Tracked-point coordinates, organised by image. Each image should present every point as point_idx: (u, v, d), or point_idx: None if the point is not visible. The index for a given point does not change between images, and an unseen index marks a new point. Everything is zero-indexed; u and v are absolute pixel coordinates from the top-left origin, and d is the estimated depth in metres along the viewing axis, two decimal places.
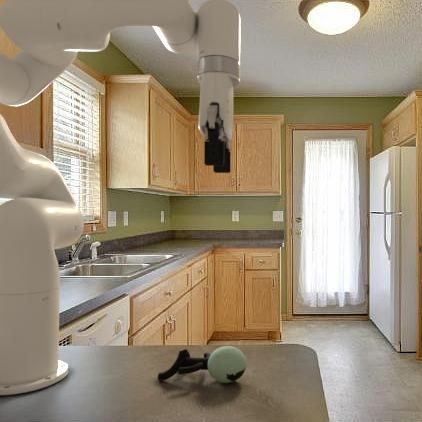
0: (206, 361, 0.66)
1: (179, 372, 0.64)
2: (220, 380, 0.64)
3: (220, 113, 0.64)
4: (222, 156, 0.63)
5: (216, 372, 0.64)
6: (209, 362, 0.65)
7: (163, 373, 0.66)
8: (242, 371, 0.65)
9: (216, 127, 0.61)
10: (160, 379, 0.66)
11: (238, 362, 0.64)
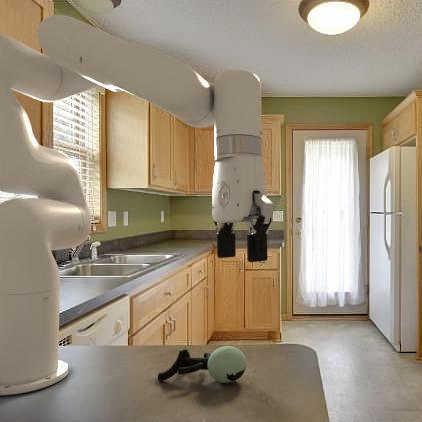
0: (206, 361, 0.66)
1: (179, 372, 0.64)
2: (220, 380, 0.64)
3: None
4: (266, 250, 0.57)
5: (216, 372, 0.64)
6: (209, 362, 0.65)
7: (163, 373, 0.66)
8: (242, 371, 0.65)
9: (270, 222, 0.55)
10: (160, 379, 0.66)
11: (238, 362, 0.64)
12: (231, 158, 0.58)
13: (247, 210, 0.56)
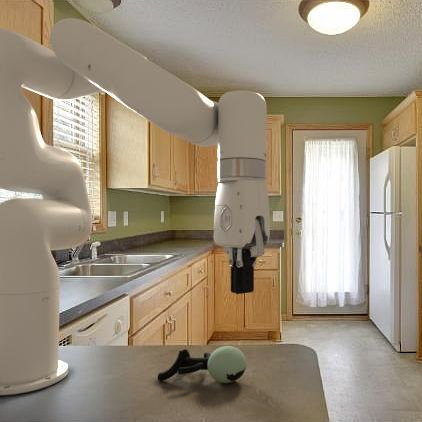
0: (206, 361, 0.66)
1: (179, 372, 0.64)
2: (220, 380, 0.64)
3: (265, 228, 0.56)
4: (252, 282, 0.59)
5: (216, 372, 0.64)
6: (209, 362, 0.65)
7: (163, 373, 0.66)
8: (242, 371, 0.65)
9: (256, 256, 0.57)
10: (160, 379, 0.66)
11: (238, 362, 0.64)
12: (234, 182, 0.56)
13: (250, 236, 0.54)
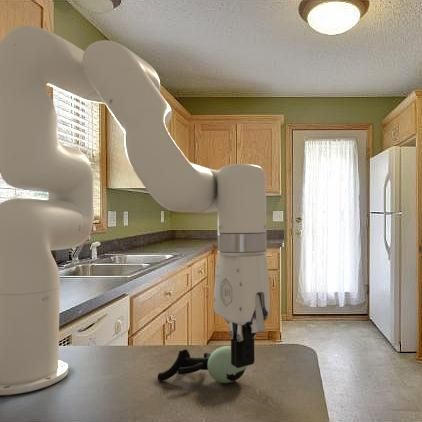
0: (206, 361, 0.66)
1: (179, 372, 0.64)
2: (220, 380, 0.64)
3: (265, 304, 0.55)
4: (253, 354, 0.59)
5: (216, 372, 0.64)
6: (209, 362, 0.65)
7: (163, 373, 0.66)
8: (242, 371, 0.65)
9: None
10: (160, 379, 0.66)
11: None
12: (234, 257, 0.56)
13: (250, 315, 0.54)
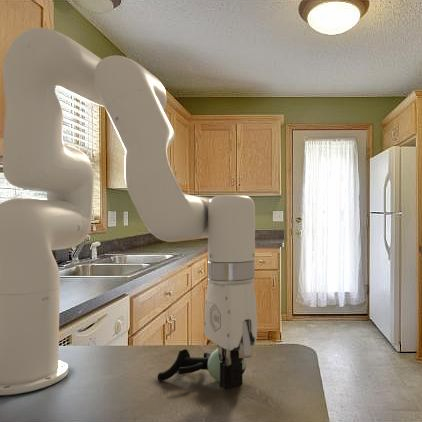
0: (206, 361, 0.66)
1: (179, 372, 0.64)
2: None
3: (252, 330, 0.58)
4: (241, 377, 0.61)
5: (216, 372, 0.64)
6: (209, 362, 0.65)
7: (163, 373, 0.66)
8: (242, 371, 0.65)
9: None
10: (160, 379, 0.66)
11: None
12: (223, 285, 0.58)
13: (237, 341, 0.56)
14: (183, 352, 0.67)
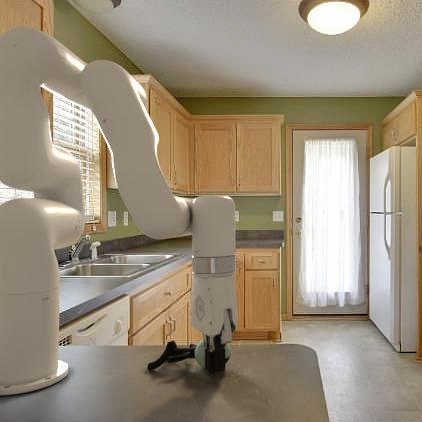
0: (193, 350, 0.72)
1: (169, 361, 0.69)
2: None
3: (233, 319, 0.64)
4: (224, 362, 0.67)
5: (203, 359, 0.69)
6: (196, 351, 0.70)
7: (152, 363, 0.71)
8: (227, 358, 0.71)
9: None
10: (150, 368, 0.71)
11: None
12: (206, 277, 0.64)
13: (219, 328, 0.62)
14: (171, 343, 0.72)
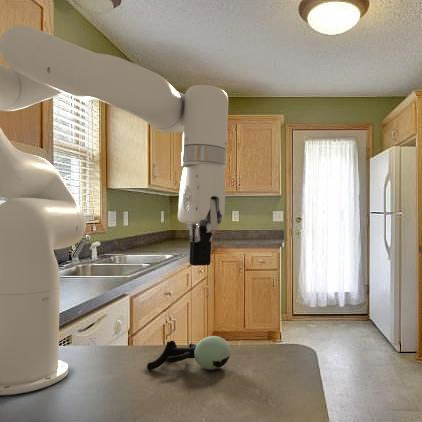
0: (193, 350, 0.72)
1: (168, 361, 0.69)
2: (206, 367, 0.70)
3: (220, 208, 0.63)
4: (209, 256, 0.66)
5: (203, 359, 0.69)
6: (196, 351, 0.70)
7: (152, 362, 0.71)
8: (227, 358, 0.71)
9: (212, 232, 0.64)
10: (149, 368, 0.71)
11: (223, 350, 0.70)
12: (194, 165, 0.63)
13: (204, 214, 0.61)
14: (171, 343, 0.72)
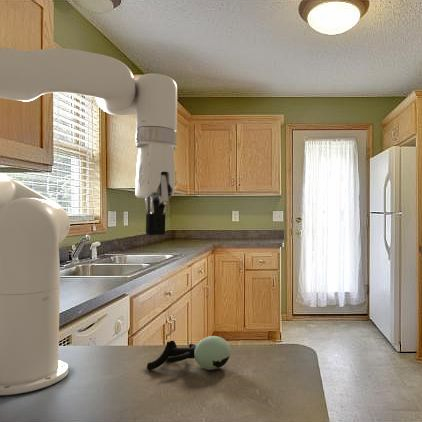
0: (193, 350, 0.72)
1: (168, 361, 0.69)
2: (206, 367, 0.70)
3: (170, 182, 0.71)
4: (164, 227, 0.74)
5: (203, 359, 0.69)
6: (196, 351, 0.70)
7: (152, 362, 0.71)
8: (227, 358, 0.71)
9: (164, 204, 0.72)
10: (149, 368, 0.71)
11: (223, 350, 0.70)
12: (146, 145, 0.71)
13: (155, 187, 0.69)
14: (171, 343, 0.72)
